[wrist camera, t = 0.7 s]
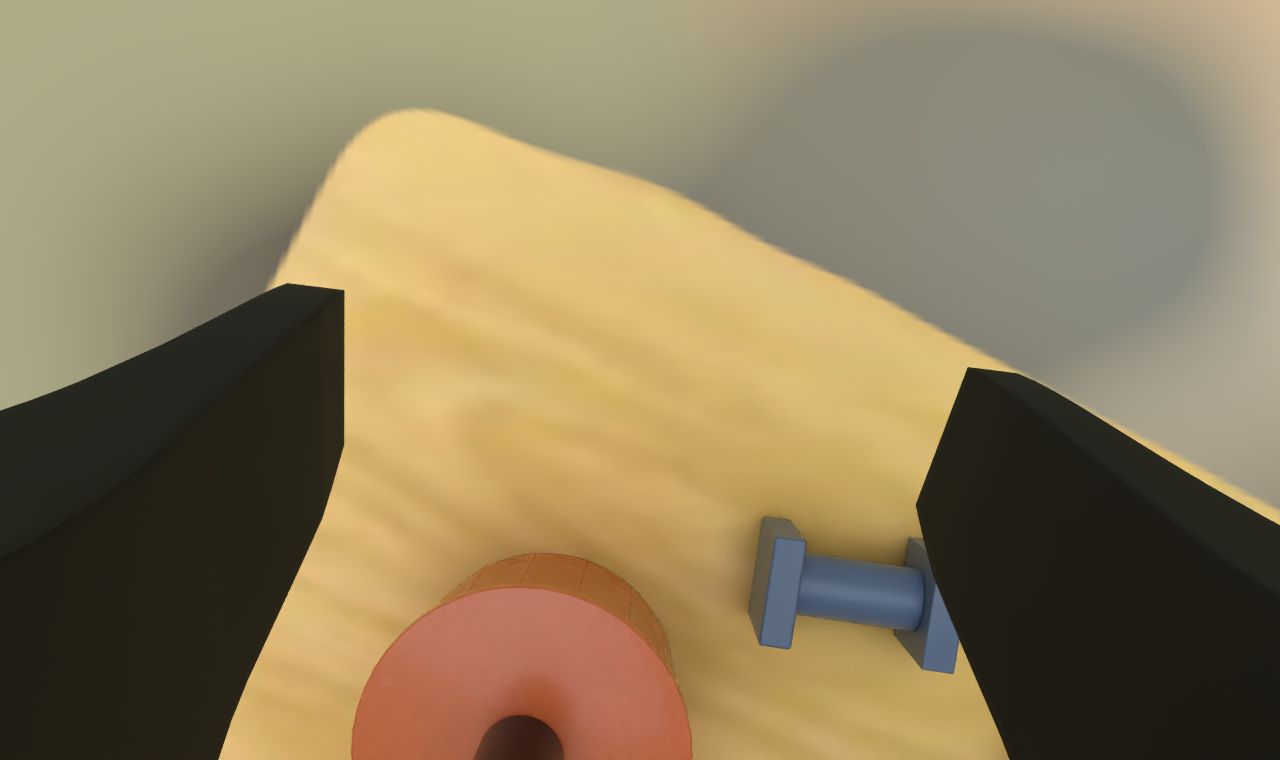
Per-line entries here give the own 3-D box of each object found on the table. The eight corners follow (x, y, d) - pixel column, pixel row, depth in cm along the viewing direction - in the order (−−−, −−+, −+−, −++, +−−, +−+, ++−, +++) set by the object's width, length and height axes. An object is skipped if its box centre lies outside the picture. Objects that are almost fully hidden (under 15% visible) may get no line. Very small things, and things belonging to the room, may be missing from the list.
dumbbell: (938, 541, 32) (971, 565, 29) (922, 639, 32) (954, 674, 29) (762, 515, 32) (775, 536, 29) (747, 613, 32) (758, 646, 29)
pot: (653, 823, 33) (654, 919, 27) (401, 786, 33) (351, 874, 27) (691, 573, 32) (698, 620, 27) (435, 535, 32) (391, 575, 27)
